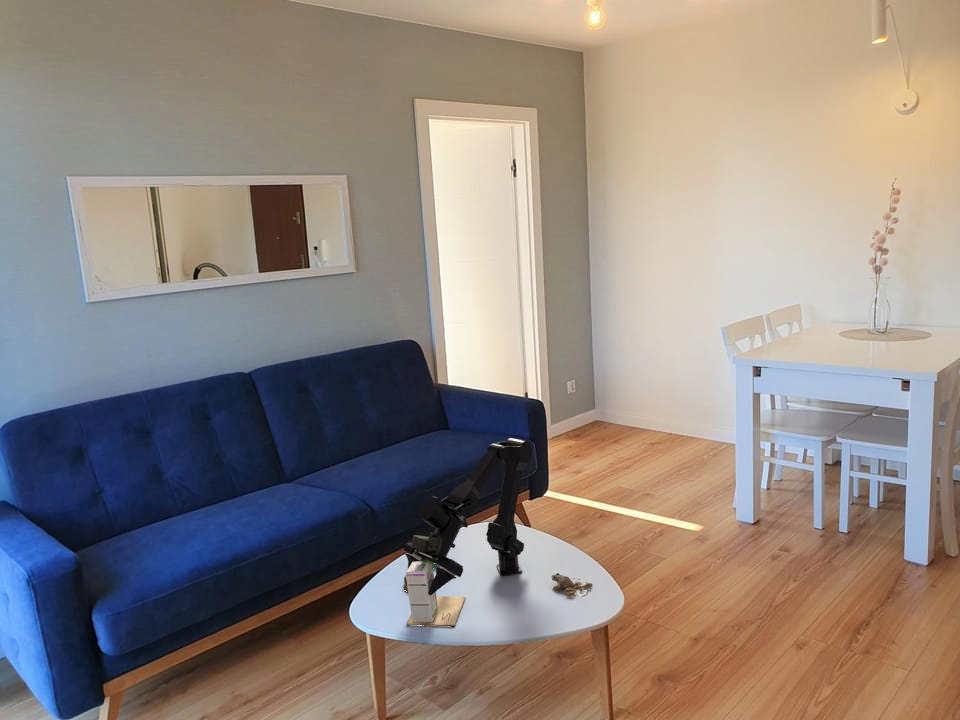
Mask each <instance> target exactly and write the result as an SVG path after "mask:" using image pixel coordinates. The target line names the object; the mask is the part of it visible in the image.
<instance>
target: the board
mask: <svg viewBox="0 0 960 720" xmlns="http://www.w3.org/2000/svg"><path fill="white" fill-rule="evenodd" d="M436 599H437V607H438V611H437V614H436V616H435V618H434V620H433V622H413V621H412V616H411V614H409V617H408V619H407V621H406V623H405V625H422V626H421V627H433V626H454V627H453V628H455V627H456V625H457V622H458V619H459V617H460V614H461V613H462V610H463V609H462V608H463V607H464V604H465V601H466V596H452V595H451V596H449V595H448V596H440V595H436ZM455 624H456V625H455ZM423 625H424V626H423Z"/></svg>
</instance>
